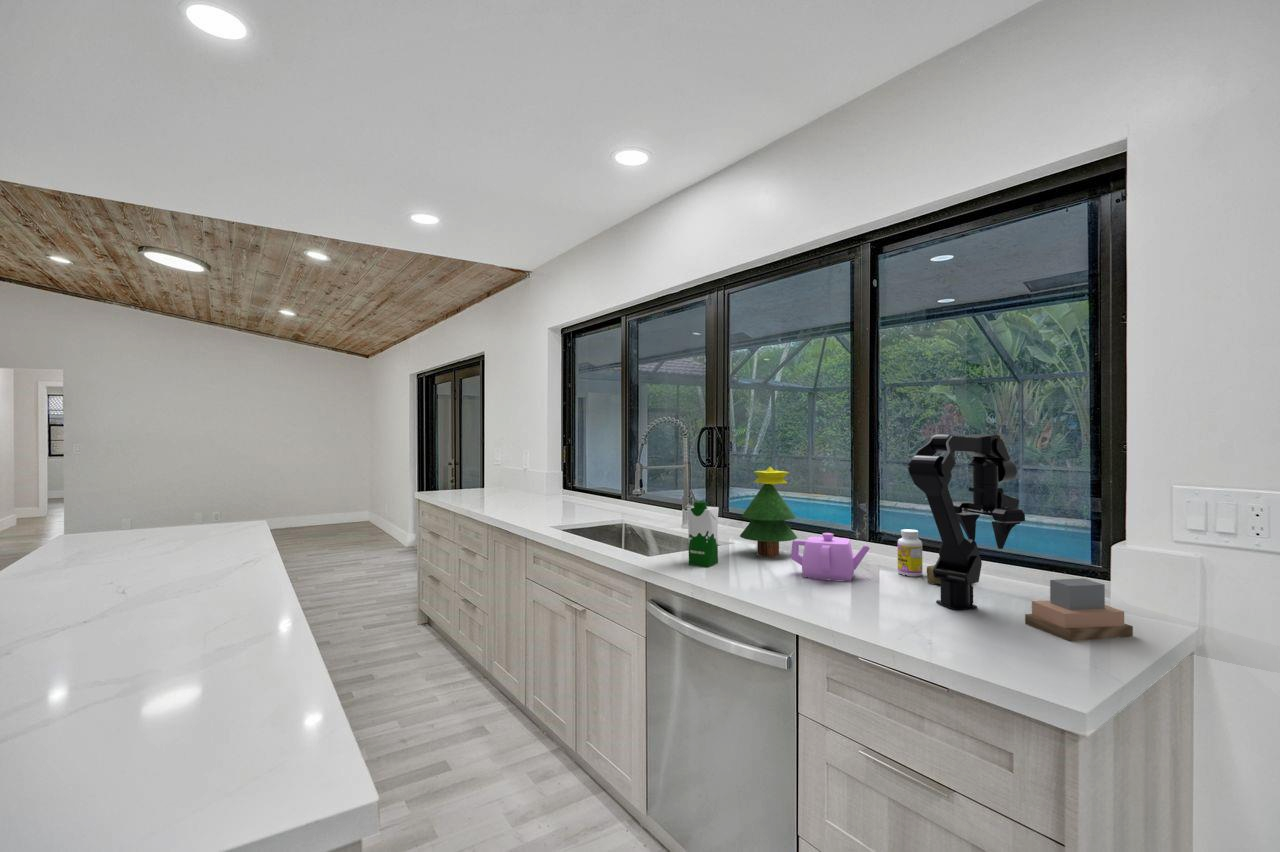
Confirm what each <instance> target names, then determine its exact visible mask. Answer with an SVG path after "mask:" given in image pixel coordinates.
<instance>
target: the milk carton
mask: <svg viewBox="0 0 1280 852" xmlns="http://www.w3.org/2000/svg"><path fill="white" fill-rule="evenodd" d="M707 503H708V502H707V501H704V500H696V501H693V506H691V507H687V508H686V510H687V511H686V512H687V518H688V519H687V520H688V521H687V522H688V526H687V527H688V537H687V538H688V566H689V565H690V566H696V567H702V568H703V567H704V568H705V567H706V568H710V567H712V566H714V565H717V564H719V551H718V549H719V542H718V541H719V540H718V539H719V537H718V536H719V535H718V534H719V533H718V530H719V529H718V527H719V525H718V524H719V523H718V519H719V509H720V508H719V507H718V506H708V504H707Z"/></svg>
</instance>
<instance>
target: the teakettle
mask: <svg viewBox="0 0 1280 852" xmlns="http://www.w3.org/2000/svg"><path fill="white" fill-rule="evenodd" d="M821 534H822V536H809V537H808V538H807V539H795V540H791V541H792V544H791V551H790V552H791V554H790V559H791V560H792V561H794V562H796V563H797V564H799V565H800V566H801V571H802V572H801V573H802V575H803V578H804V577H808V578H807V579H810V578H816V579H815V580H819V579H830V580H844V581H843V582H851V581H852V580H851V579H853V578H854V573H855V571H856V569H857V568H858V566H859V565H860V563H861V562H862V560H863V559H864V557H865V556H866V554H867V553H868V552H869V550H870V549H871V547H870V546H868V545H863V546H862V547H861V548H860V549H859V551H857V552H856V554H854V553H853V547H852V542H851V539H849V538H846V537H834V533H833V532H823V533H821ZM799 546H802V547H803V546H804V548H803V552H802V553H803V554H802V555H801V554H800V553H799V551H800V550H799V548H800V547H799ZM830 580H829V581H830Z"/></svg>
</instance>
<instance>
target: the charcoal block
mask: <svg viewBox="0 0 1280 852" xmlns="http://www.w3.org/2000/svg"><path fill="white" fill-rule="evenodd" d="M1049 588H1050V589H1049V595H1050V596H1049V597H1050V603H1051V604H1054V605H1057V606H1060V607H1062V608H1065V609H1068V610H1085V609H1105V605H1106V600H1105V599H1106V594H1105V591H1106V590H1105V584H1104V583H1101V582H1097V581H1094V580H1090V579H1087V578H1066V579H1065V578H1063V579H1062V578H1060V579H1059V578H1058V579H1050V580H1049Z"/></svg>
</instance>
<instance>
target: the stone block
mask: <svg viewBox="0 0 1280 852" xmlns="http://www.w3.org/2000/svg"><path fill="white" fill-rule="evenodd" d="M934 566H935V564H934V565H928V566H927V567H926V582H927V583H929V584H931V583H932V585H939V586H941V584H940V578H934V574H933V568H934ZM949 572H953V571H949ZM954 573H958V572H954ZM959 574H963V573H959ZM964 575H965V574H964Z"/></svg>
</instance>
